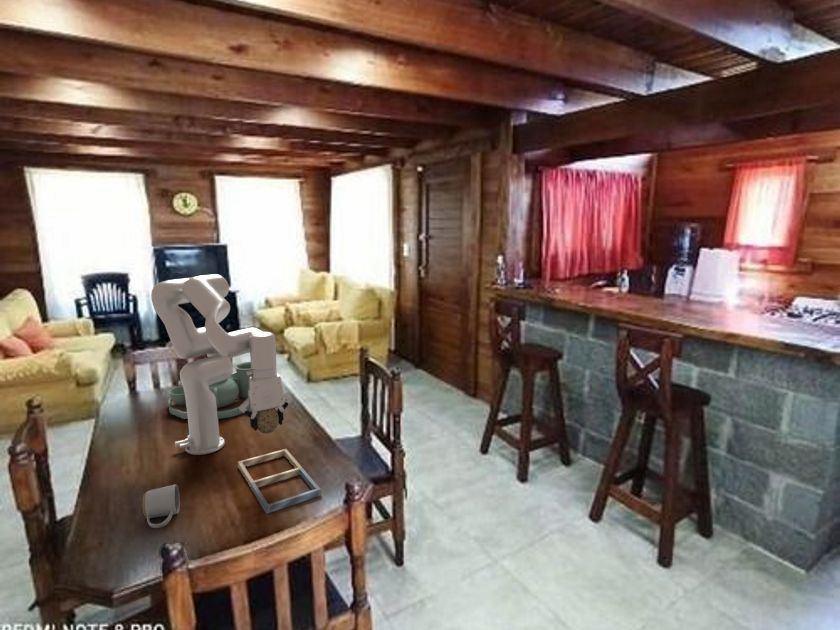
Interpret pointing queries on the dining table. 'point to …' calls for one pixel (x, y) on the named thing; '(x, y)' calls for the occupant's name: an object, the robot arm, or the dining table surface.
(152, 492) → the ceramic mug
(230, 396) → the tea set
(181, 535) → the dining table surface
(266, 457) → the frame
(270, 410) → the decorative egg
